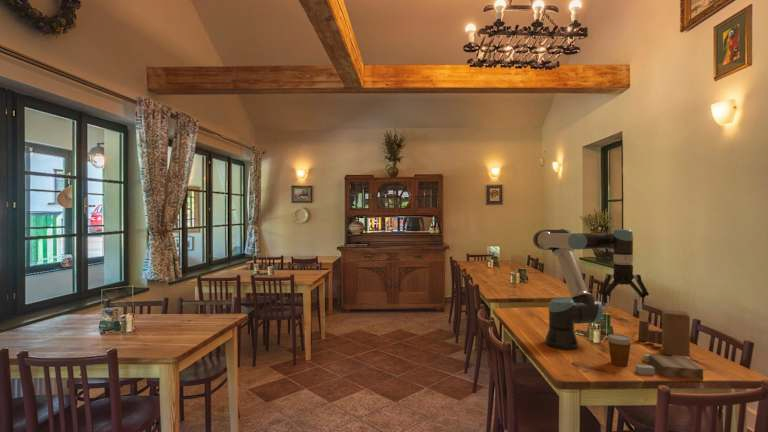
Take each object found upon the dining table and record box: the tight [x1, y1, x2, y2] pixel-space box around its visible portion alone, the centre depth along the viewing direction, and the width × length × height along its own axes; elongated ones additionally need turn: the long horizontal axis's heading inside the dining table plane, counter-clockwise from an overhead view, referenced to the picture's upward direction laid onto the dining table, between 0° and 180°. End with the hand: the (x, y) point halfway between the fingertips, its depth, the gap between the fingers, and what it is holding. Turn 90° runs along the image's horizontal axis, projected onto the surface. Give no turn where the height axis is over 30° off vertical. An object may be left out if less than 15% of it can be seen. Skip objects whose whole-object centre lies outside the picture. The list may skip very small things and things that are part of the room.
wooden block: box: [661, 308, 691, 358], centre depth 189 cm, size 10×10×20 cm
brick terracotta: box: [672, 355, 692, 361], centre depth 177 cm, size 6×3×3 cm, turn 70°
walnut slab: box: [649, 354, 704, 380], centre depth 168 cm, size 14×14×4 cm
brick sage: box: [642, 353, 651, 364], centre depth 179 cm, size 6×3×3 cm, turn 69°
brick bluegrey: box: [635, 364, 656, 376], centre depth 166 cm, size 6×3×3 cm, turn 80°
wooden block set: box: [637, 319, 662, 345], centre depth 207 cm, size 18×9×10 cm, turn 171°
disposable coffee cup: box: [606, 333, 633, 367], centre depth 177 cm, size 10×10×12 cm
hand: (623, 310), depth 179 cm, fingers open, 13 cm apart
